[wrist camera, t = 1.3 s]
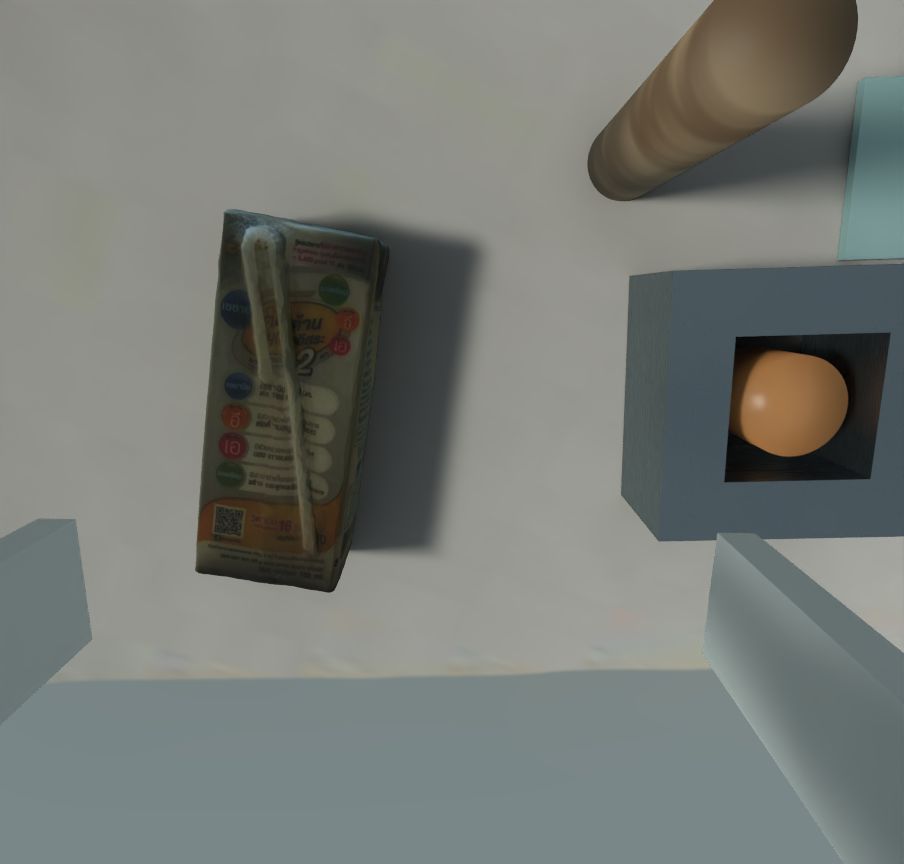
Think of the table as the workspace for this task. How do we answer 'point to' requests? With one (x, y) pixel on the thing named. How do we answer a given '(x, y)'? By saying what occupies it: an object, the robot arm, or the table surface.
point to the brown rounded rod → (722, 88)
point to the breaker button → (785, 400)
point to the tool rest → (875, 174)
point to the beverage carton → (288, 399)
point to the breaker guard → (709, 396)
